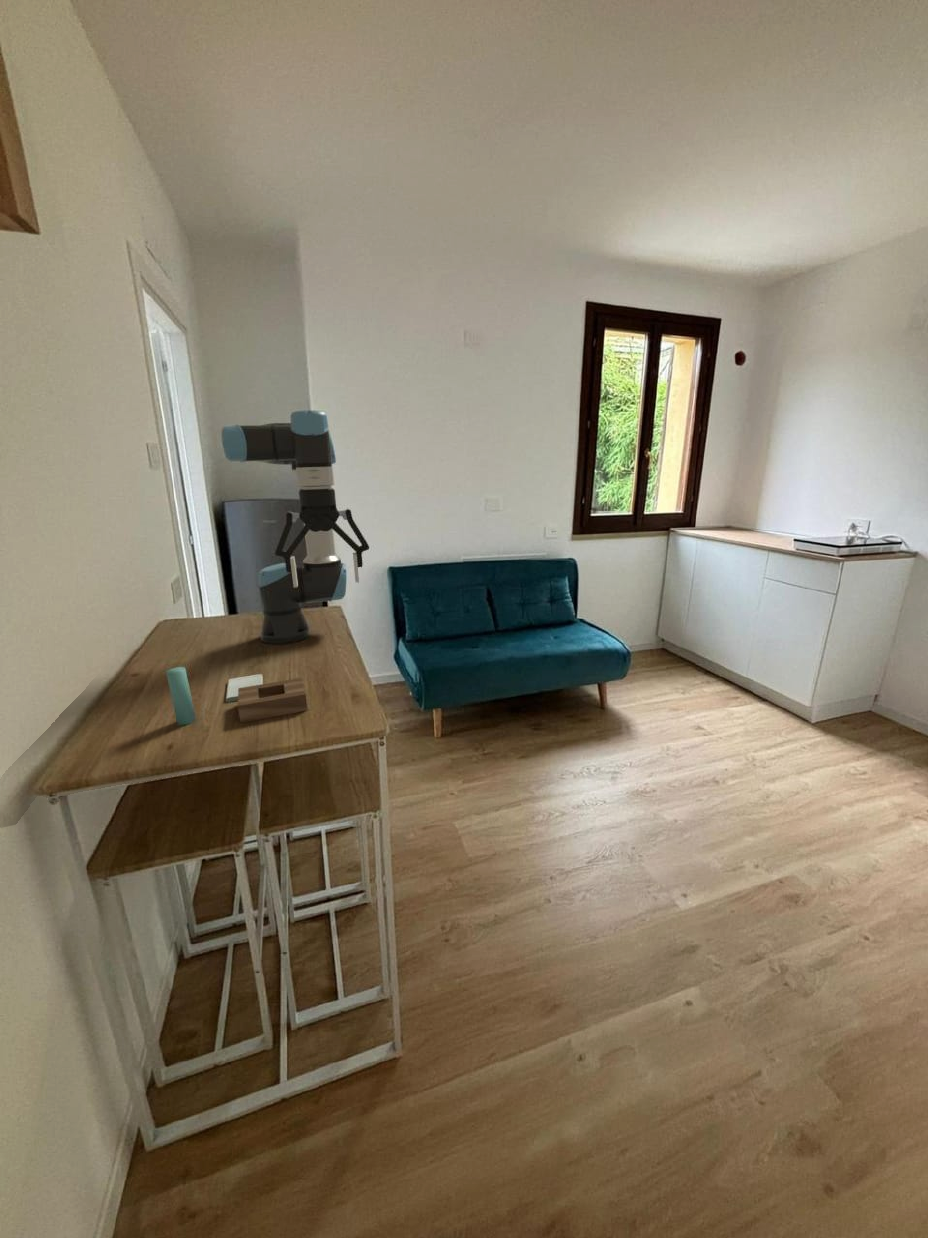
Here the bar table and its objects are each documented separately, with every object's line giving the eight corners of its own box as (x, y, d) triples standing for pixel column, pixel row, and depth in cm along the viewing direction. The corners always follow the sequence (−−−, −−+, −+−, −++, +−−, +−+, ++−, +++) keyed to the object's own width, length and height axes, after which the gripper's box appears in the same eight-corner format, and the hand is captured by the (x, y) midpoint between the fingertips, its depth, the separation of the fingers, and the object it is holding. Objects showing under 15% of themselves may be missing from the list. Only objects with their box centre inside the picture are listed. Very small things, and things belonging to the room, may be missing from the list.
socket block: (241, 703, 119) (238, 688, 118) (303, 692, 124) (301, 677, 123) (240, 723, 110) (237, 706, 109) (307, 710, 115) (305, 693, 114)
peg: (178, 719, 113) (167, 668, 109) (196, 716, 114) (186, 666, 110) (176, 726, 109) (165, 674, 106) (194, 723, 111) (184, 671, 107)
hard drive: (262, 692, 123) (262, 673, 134) (225, 698, 120) (227, 678, 131) (263, 698, 123) (262, 679, 134) (226, 704, 120) (228, 684, 131)
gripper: (252, 490, 104) (267, 591, 111) (376, 486, 110) (383, 582, 116) (257, 489, 111) (271, 584, 118) (373, 485, 117) (380, 576, 123)
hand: (326, 583), depth 117 cm, fingers open, 13 cm apart
